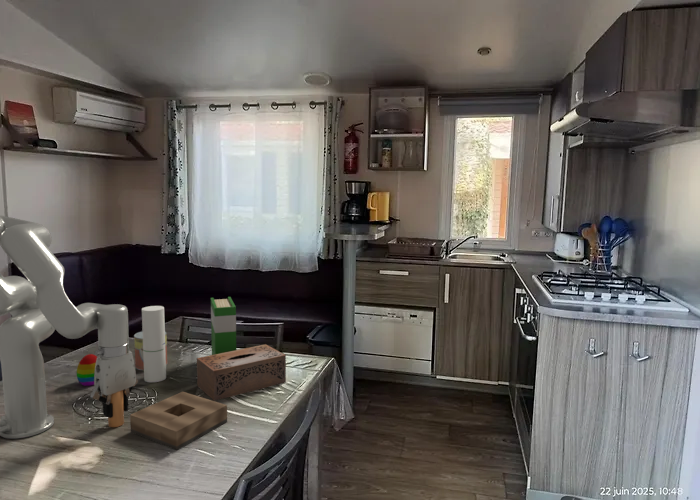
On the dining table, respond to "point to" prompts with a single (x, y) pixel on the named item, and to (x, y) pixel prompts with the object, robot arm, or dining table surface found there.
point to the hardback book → (223, 325)
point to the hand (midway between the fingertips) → (115, 412)
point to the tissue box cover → (240, 371)
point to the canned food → (139, 350)
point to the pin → (117, 410)
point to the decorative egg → (86, 370)
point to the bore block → (178, 419)
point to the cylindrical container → (154, 343)
